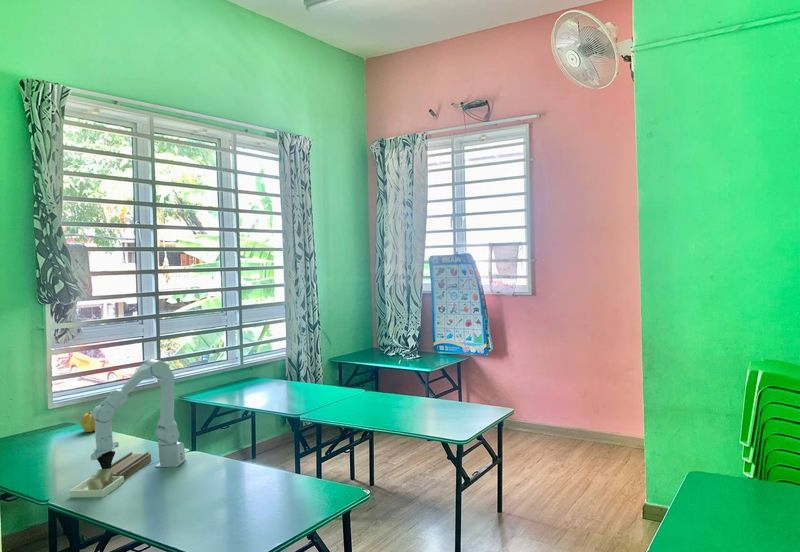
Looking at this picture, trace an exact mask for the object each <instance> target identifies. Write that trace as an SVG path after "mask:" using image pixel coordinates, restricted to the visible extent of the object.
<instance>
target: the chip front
mask: <svg viewBox="0 0 800 552" xmlns="http://www.w3.org/2000/svg"><path fill="white" fill-rule="evenodd" d="M89 478H90V479H89V480H88V481H87V482H86V483H87V486H88V490H101V488H102V487H103V486H104V484H105V482H104V478H103V475H96V474H94V475H93V474H92V475H91V476H90V477H89Z"/></svg>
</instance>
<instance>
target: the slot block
mask: <svg viewBox="0 0 800 552" xmlns="http://www.w3.org/2000/svg"><path fill="white" fill-rule="evenodd" d="M151 461H152V455H151V453H149V451H146V452H144V453H133V452H132V451H130V452H128V453H127V454H125V455H123V456H122V457H121V458H119V459H118V460H115V461H114V462H112V464H111V469H110V470H111V472H112V474H113V476H124V481H125V480H126V479H127V477H128V478H129V477H130V476H132V475H133V474H135V473H136V472H138V470H141V469H142V468H143V467H145V466H146V465H147V464H149V463H150V462H151Z"/></svg>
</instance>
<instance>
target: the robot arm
mask: <svg viewBox="0 0 800 552" xmlns="http://www.w3.org/2000/svg"><path fill="white" fill-rule="evenodd" d="M153 378H155V379H156V380H158V381H159V383H160V386H159V387H160V389H159V391H160V393H159V395H160V401H159V405H160V407H159V411H160V412H159V420H158V422H157V427H156V430H154V431H155V432H154V434H155V435H154V437H155V438H156V439H157V440H158V443H157V445H158V458H159V463H158V464H156V465H155V468H178V467H179V466H180V465H181V464H183V463H184V462H185V461H187V458H186V453H185V444H184V443H183V442H180V441H178V440H179V438H180V432H179V429H178V424H177V422H176V420H175V375H174V373H173V372H172V370H171V368H170V365H169V364H168V363H167V362H165V361H162V360H157V359H154V358H148V359H147V360H145V361H144V362H143V363H142V364H141V365H140V366H138V368H137V370H135V372H134V373H133V374H132V376H131V377H130V378H128V380H127V381H126V382H125V383H124V385H122V386H121V388H117V389H116V388H115V390H111V391H110V392H109V395H108V396H107V398H105V399H104V400H103V401H101V402H99V403H100V404H99V405H97V406H95V407H94V408H93V409H92V411H91V412H92V414H91V416H92V418H93V419H95V420H94V421H95V431H94V434H95V435H94V436H95V437H94V438H95V448H94V449H93V452H92V453H91V454H90V460H91V461H96V460H97V463H98V462H99V463H100V464H99V463H98V464H99V466H100V468H102V469H111V464H113V459H114V457H115V455H116V451H115V450H114V449H115V448H119V441H114V439H113V425H112V419H113V417H114V415H115V411H117V410H118V409H119V408H120V407H121V406H122V405H123V404H124V403H125V402H126V401H127V400H128V395H129V393H131V392H132V391H133V390H134V389H135V388H136V387H137V386H138V385H139V384H140V383H141V382H143V381H144V380H149V379H153Z"/></svg>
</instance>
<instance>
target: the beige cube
mask: <svg viewBox="0 0 800 552" xmlns="http://www.w3.org/2000/svg"><path fill="white" fill-rule="evenodd" d="M98 469H99V468H98ZM95 475H103V478H104V482H105V484H109V483H110V481H111V479H112V477H113V474H112V472H111V470H110V469H99V471H98V472H96V474H95ZM105 484H104V485H105Z"/></svg>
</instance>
